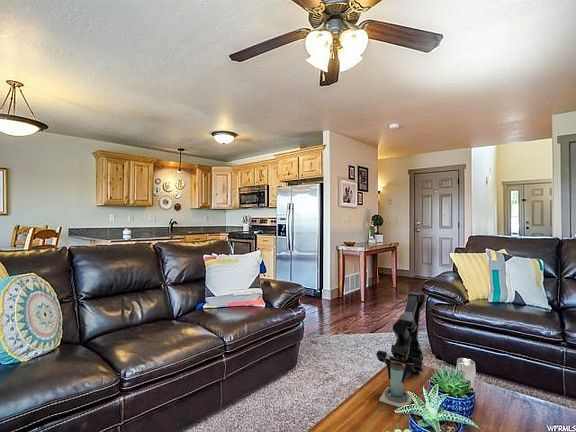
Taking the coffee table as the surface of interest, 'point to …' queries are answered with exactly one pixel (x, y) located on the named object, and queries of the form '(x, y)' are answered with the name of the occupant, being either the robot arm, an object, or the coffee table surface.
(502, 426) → the coffee table surface
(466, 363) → the beer glass
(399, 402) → the mount plate
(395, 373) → the teal cylinder
